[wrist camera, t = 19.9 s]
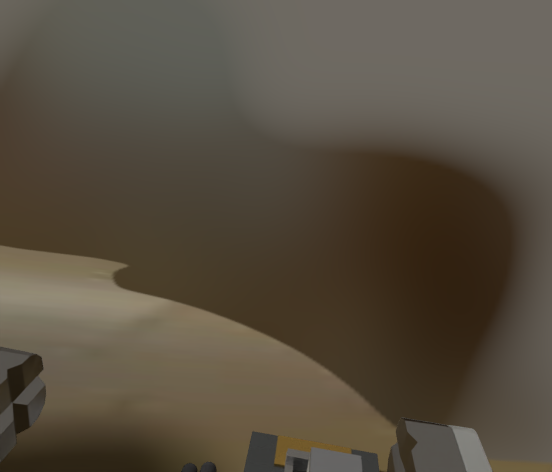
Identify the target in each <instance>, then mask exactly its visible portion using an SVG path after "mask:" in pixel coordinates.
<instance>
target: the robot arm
mask: <svg viewBox="0 0 552 472" xmlns="http://www.w3.org/2000/svg"><path fill="white" fill-rule="evenodd" d="M43 369H44V368H43V362H42V357H41V356H39V355H37V354H34V353H29V352H24V351H19V350H14V349H9V348H4V347H0V463H1V461H2V460H3V459H4V458H5V457H6V456H7V454H8V453H9V452H10V451H11V450H12V448H13V447H14V446H15V445H16V444H17V434H18V433H20V432H22V431H24V430H26V429H28V428H30V427H31V426H32V424H33V423H34V422H35V421H36V419H37V418H38V417H39V415H40V413H41V410H42V408H43V406H44V404H45V397H46V387H45V384H44V383H43V381H42V380H41V379H40V378H39V376H38V375H39V374H40V373H41V372H42V370H43ZM396 436H397V442H398V443H396V444H395V445H393V446H392V447H391V450H390V454H389V458H388V468H387V472H493V471H492V469H491V466H490V464H489V461H488V459H487V457H486V454H485V452H484V449H483V447H482V444H481V442H480V440H479V437H478V435H477V433H476V432H475V431H474V430H473V429H471V428H465V427H458V426H451V425H448V426H447V425H442V424H437V423H431V422H425V421H419V420H413V419H407V418H401V419H400V421H399V422H398V425H397V429H396Z"/></svg>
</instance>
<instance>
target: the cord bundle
mask: <svg viewBox="0 0 552 472" xmlns="http://www.w3.org/2000/svg"><path fill="white" fill-rule="evenodd" d="M181 472H197V467H196V466H195V465H194V464H192V463H188V464H186V465H185V466H184V467H183V468H182V471H181ZM200 472H216V466H215V465H214V464H213V463H212V462H206V463H204V464H203V465H202V467H201V470H200Z"/></svg>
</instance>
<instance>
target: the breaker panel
mask: <svg viewBox="0 0 552 472" xmlns="http://www.w3.org/2000/svg"><path fill="white" fill-rule="evenodd" d="M311 447H315V448H320V449H326V450H331V451H337V452H342V453H348V454H353V455H359V456H361V460H362V472H379V466H378V458H377V454H375V453H369V452H364V451H358V450H353V449H351V448H346V447H340V446H335V445H329V444H324V443H318V442H313V441H307V440H302V439H296V438H291V437H285V436H279V435H278V436H275V435H270V434H264V433H259V432H252V436H251V441H250V446H249V450H248V455H247V460H246V464H245V469H244V472H307V468H308V462H309V457H310V452H311Z"/></svg>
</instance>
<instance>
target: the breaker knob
mask: <svg viewBox="0 0 552 472" xmlns="http://www.w3.org/2000/svg"><path fill="white" fill-rule="evenodd" d="M307 472H362V460H361V456H359V455H353V454H348V453H342V452H337V451H331V450H326V449H320V448H315V447H311V452H310V457H309V462H308V468H307Z"/></svg>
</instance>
